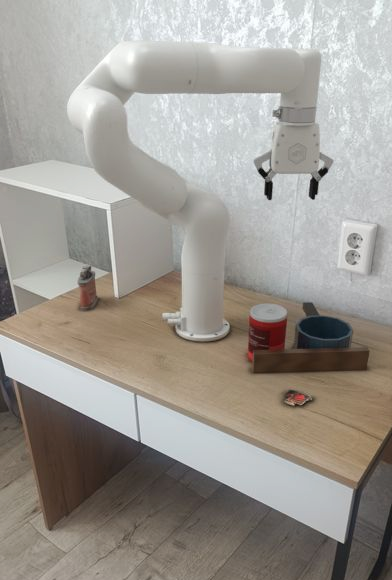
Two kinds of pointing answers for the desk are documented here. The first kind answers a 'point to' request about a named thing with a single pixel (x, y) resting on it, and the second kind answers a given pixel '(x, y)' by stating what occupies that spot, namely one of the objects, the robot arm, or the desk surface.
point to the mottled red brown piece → (296, 397)
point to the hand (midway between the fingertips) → (290, 198)
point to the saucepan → (321, 331)
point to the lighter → (87, 288)
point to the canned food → (266, 328)
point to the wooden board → (310, 359)
